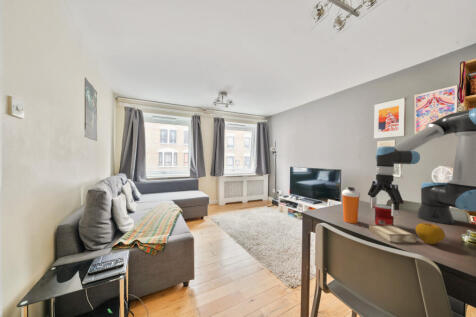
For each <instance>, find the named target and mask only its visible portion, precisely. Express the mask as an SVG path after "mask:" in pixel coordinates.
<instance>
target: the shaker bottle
mask: <svg viewBox="0 0 476 317" xmlns="http://www.w3.org/2000/svg"><path fill="white" fill-rule="evenodd" d="M341 195H342V214H343V222H345V223H347V224H354V225H355V224H356V225H357V224H358V223H359V209H360V208H359V206H360V197H361V193H360V192H359V191H358V190H356V187H352V186H346V188H345V189H343V190H342V192H341Z"/></svg>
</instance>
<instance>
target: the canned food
mask: <svg viewBox="0 0 476 317" xmlns="http://www.w3.org/2000/svg"><path fill="white" fill-rule="evenodd" d="M391 212H392V205H388V204H381V203H376V205H375V208H374V223H375V224H374V225H394V218H395V216H391Z"/></svg>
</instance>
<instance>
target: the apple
mask: <svg viewBox="0 0 476 317" xmlns="http://www.w3.org/2000/svg"><path fill="white" fill-rule="evenodd" d="M415 233H416V236H418V238H419V239H420V240H421V241H422V242H423V243H425V244H428V245H436V244H438V243H440V242H442V241H443V240H444V239H445V237H446V233H445V232H444V229H442V227H440V226H439V225H437V224H433V223H429V222H420V223H418V224H417V225H416V226H415Z"/></svg>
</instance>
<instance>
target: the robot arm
mask: <svg viewBox="0 0 476 317" xmlns="http://www.w3.org/2000/svg"><path fill="white" fill-rule="evenodd" d="M450 134H454V136H456V137H457V143H456V150H455V157H454V161H453V169H452V176H451V179H450V180H449V181H447V182H434V181H433V182H431V181H430V182H429V181H426V182H425V181H424V182H422V183H421V187H420V196H421V197H420V206H419V208H418V210H417V212H416V216H417V218H419V219H422V220H424V221H428V222H433V223H439V224H445V225H447V224H448V225H449V224H451V225H452V224H455V219H454V217H453V214H452V211H451V209H450V207H451V208H455V209H458V210H462V211H467V212H476V107H473V108H471V109H466V110H462V111H457V112H453V113H449V114H446V115H443V116H441V117H440V118H437V119H436V120H434V121H433V122H431V123H429V124H427V125H426V126H425V127H424V128H423V129H422V130H420V131H417V133H414V134H413V135H411V136H409V137H407V138H406V139H404V140H402V141H400V142H398V143H397V144H395V145H393V146H378V147H377V149H376V155H375V160H376V166H375V167H376V168H375V169H376V174H375V180H372V183H371V185H370V188H369V190H368V192H367V195H368V196H369V197H370V208H371V209H375V205H376V204H377V200H378V199H377V195H379V193H380V192H382V191H384V192H385V193H386V194H387V195H388V197H389V198H390V199H391V201H392V203H391V206H392V212H391V216H394V217H398V216H399V210H400V205H404V200H403V198H402V196H401V193H400V190H399V185H398V184H393V182H394V174H395V165H416V164H418V163H419V161H420V159H421V156H420V153H419V152H418V151H416V149H418V148H420V147H422V146H424V145H425V144H427V143H429V142H430V141H432V140H434V139H439V138H442V137H443V136H446V135H450Z"/></svg>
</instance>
